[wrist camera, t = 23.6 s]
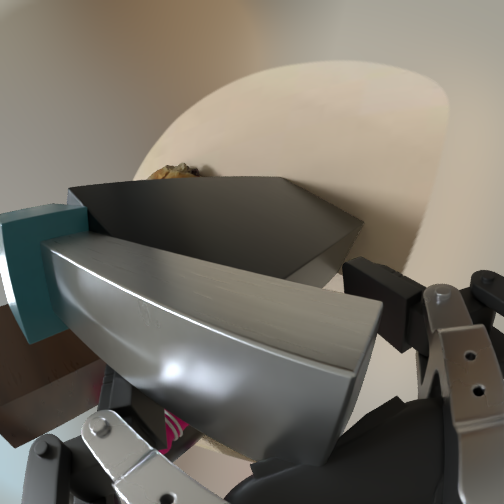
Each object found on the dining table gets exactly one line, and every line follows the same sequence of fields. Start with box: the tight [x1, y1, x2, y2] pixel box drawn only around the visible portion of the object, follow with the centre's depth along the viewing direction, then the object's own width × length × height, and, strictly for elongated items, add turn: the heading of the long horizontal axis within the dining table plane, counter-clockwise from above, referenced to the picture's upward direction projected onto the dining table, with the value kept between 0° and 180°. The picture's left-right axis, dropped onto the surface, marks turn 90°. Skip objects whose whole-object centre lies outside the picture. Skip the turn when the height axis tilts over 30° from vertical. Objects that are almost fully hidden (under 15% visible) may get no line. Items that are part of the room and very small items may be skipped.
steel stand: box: [67, 176, 364, 288], centre depth 20 cm, size 6×10×22 cm, turn 66°
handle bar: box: [0, 203, 384, 466], centre depth 8 cm, size 5×16×4 cm, turn 88°
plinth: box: [0, 304, 107, 448], centre depth 26 cm, size 8×10×32 cm
